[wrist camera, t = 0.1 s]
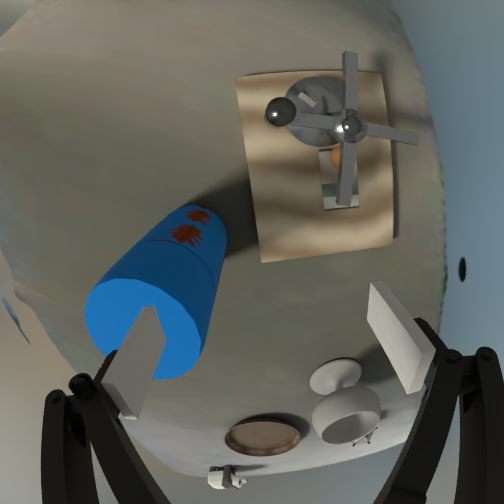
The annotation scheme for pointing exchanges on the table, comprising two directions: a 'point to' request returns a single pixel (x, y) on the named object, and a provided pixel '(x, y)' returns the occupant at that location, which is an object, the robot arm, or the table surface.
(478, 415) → the robot arm
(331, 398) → the chalice
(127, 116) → the table surface
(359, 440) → the game die
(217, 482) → the giant panda
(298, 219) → the stand base
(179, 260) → the thermos
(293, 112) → the grey cross
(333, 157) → the ball
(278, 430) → the plant saucer
